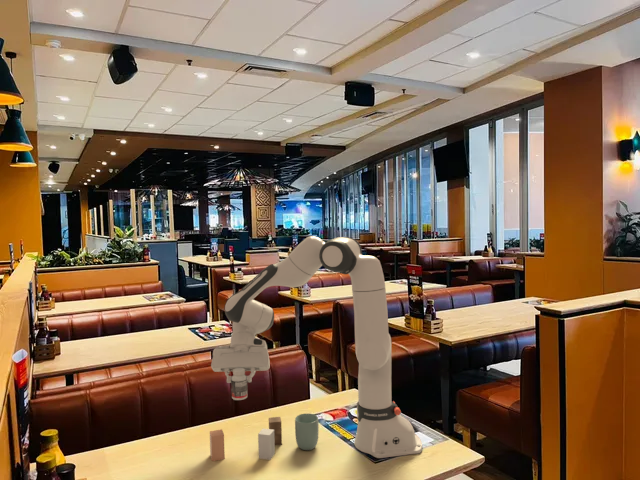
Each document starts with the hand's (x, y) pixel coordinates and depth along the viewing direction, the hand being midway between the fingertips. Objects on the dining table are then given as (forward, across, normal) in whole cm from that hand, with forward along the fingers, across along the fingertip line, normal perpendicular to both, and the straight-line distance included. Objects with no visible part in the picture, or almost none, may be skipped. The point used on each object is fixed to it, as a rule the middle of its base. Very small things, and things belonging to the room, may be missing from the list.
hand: (238, 381), depth 161 cm
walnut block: (+15, +12, +15) cm, 24 cm away
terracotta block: (+22, -6, +8) cm, 24 cm away
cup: (+18, +23, +12) cm, 32 cm away
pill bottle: (+4, 0, +5) cm, 6 cm away
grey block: (+22, +10, +8) cm, 25 cm away
